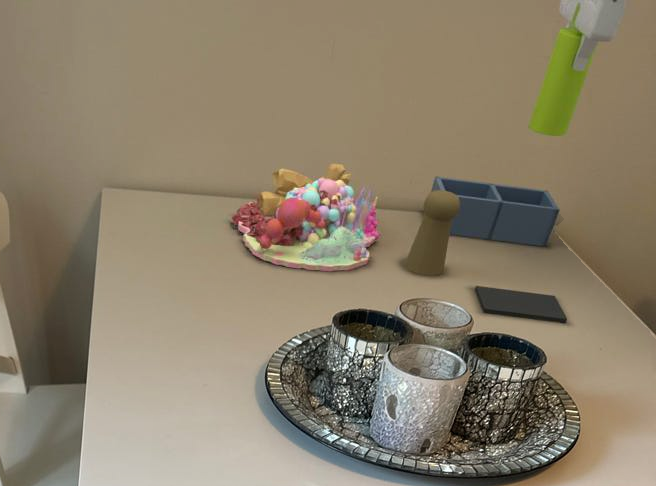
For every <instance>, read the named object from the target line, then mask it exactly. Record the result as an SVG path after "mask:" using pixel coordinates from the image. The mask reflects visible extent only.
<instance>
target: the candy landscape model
mask: <svg viewBox="0 0 656 486" xmlns="http://www.w3.org/2000/svg"><path fill="white" fill-rule="evenodd" d="M351 176H352V173H346V168H345V166H344V165H343V164H341V163H340V164H339V163H332V164H329V166H328V168H327V171H326V177H325V176H324V175H322V176H321V177H320V178H318V179H317V180H315V181H313V180H312V179H311V178H309V177H307V176H305V175H302V174H300V173H299V172H296V171H294V170H290V169H287V168H280V169H278V170H277V171H275V172H273V173H272V180H273V183H274V187H275V189H276V190H275V192H271V191H261V193H260V195H258V197H256V202H255V201H250V202H248V204H247V203H244V204H243V205H241V206H240V207H239V208H238V209H237V211H236V213H235V214H234V215H233V216H232V217H231V219H232V222H233V225H234V226H235V225H237V230H238V231H239V232H241V233H243V237H242V241H243V242H244V246H245V247H247V248H248V249H249V251H250V252H251V254H252V255H253V256H256V257H257V258H259V259H261V260H262V261H265V262H269V263H272V264H274V265H276V266H277V265H278V266H284V267H287V268H293V269H305V270H307V271H321V272H322V271H323V272H333V271H338V272H339V271H349V270H353V269H356V268H359V267H361V266H365V265H367V264H368V262H369V260H370V257H371V256H370V251H368V250H367V248H368V247H369V248H370V246H371V245H372V244H374V243H375V241H377V240H379V238H380V233H379V232H378V231H377V227H378V226H379V222H378V220H377V215H376V214H377V211H375V210H376V208H377V207H376V206H377V205H378V199H379V197H378V196H375V199H374V201H370V199H371V197H372V194H373V188H372V187H370V189H369V191H368V194H367V196H366V198H365V196H364V194H365V191H366V185H364V186H363V188H362V190H361V192H360V193H358V196H357V198H356V200H355V198H354V197H355V191H354V189H353V187H352V186H351V185H349V183H350V180H351ZM364 198H365V199H364ZM354 201H355V202H354Z"/></svg>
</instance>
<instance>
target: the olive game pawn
mask: <svg viewBox="0 0 656 486" xmlns="http://www.w3.org/2000/svg"><path fill="white" fill-rule="evenodd" d="M459 208H460V200H459V197H458V196H457V195H455V194H454V193H451V192H448V191H443V190H436V191H432V192H431V191H430V192H429V193H428V195H427V196H426V197H425V199H424V201H423V212H424V215H423V218H422V220H421V223H420V224H419V227H418V230H417V231H416V232H417V233H416V235H415V237H414V239H413V242H412V244H411V247H410V250H409V252H408V254H407V257H406V259H405V262H404V267H405V268H406V269H407V270H409V271H410V272H412V273H414V274H416V275H420V276H427V277H436V276H440V275H442V274H443V273H444V269H445V264H446V258H447V253H448V252H447V251H448V247H449V240H450V229H451V223H452V219H453V218H454V217H455V216H456V215H457V213H458V211H459Z"/></svg>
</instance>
